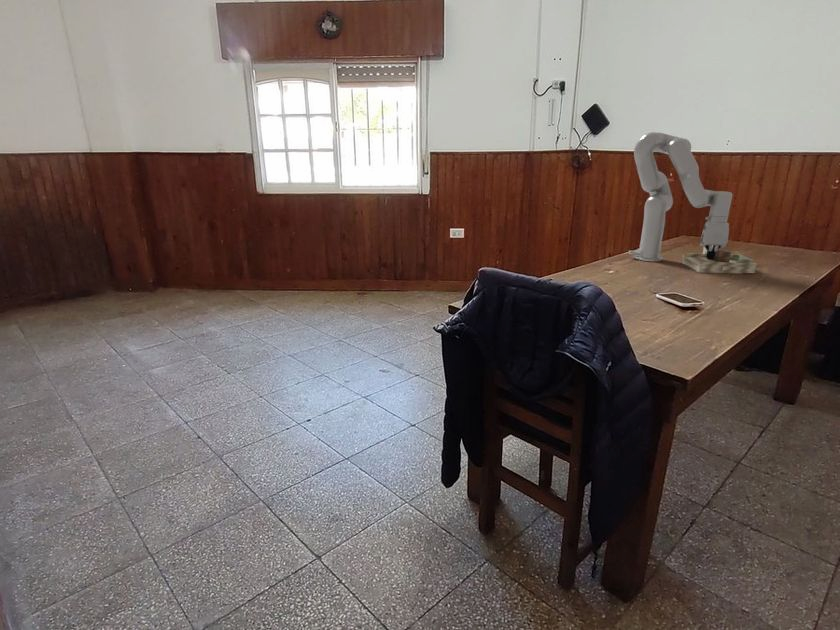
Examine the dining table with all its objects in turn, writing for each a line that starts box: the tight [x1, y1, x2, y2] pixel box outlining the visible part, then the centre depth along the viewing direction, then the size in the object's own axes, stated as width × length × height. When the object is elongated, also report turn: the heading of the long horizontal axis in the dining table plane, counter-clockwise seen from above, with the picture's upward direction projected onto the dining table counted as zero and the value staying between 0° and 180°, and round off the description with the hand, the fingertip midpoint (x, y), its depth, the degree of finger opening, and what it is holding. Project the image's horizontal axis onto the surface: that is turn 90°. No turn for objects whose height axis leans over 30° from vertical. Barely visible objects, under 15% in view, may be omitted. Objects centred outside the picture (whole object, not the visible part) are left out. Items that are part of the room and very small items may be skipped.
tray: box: [681, 252, 758, 274], centre depth 233 cm, size 24×19×6 cm
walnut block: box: [713, 249, 732, 263], centre depth 232 cm, size 5×5×5 cm
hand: (709, 259), depth 233 cm, fingers closed
